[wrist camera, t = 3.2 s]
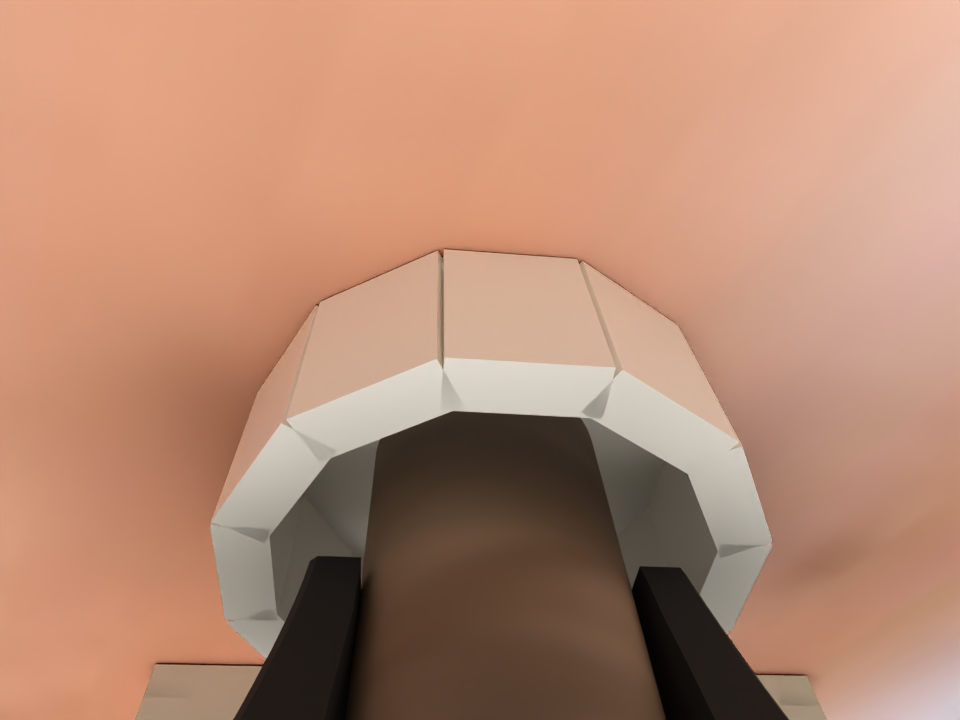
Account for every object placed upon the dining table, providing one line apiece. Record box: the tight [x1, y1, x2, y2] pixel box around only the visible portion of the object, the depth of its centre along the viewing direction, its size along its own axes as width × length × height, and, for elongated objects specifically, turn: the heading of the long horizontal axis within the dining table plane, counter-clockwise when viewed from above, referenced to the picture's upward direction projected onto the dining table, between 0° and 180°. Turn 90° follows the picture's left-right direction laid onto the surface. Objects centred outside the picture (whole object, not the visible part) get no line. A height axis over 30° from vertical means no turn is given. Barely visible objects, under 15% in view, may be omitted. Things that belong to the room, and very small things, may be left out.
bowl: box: [210, 249, 773, 659], centre depth 12 cm, size 8×8×3 cm
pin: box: [345, 411, 666, 720], centre depth 10 cm, size 4×4×7 cm
